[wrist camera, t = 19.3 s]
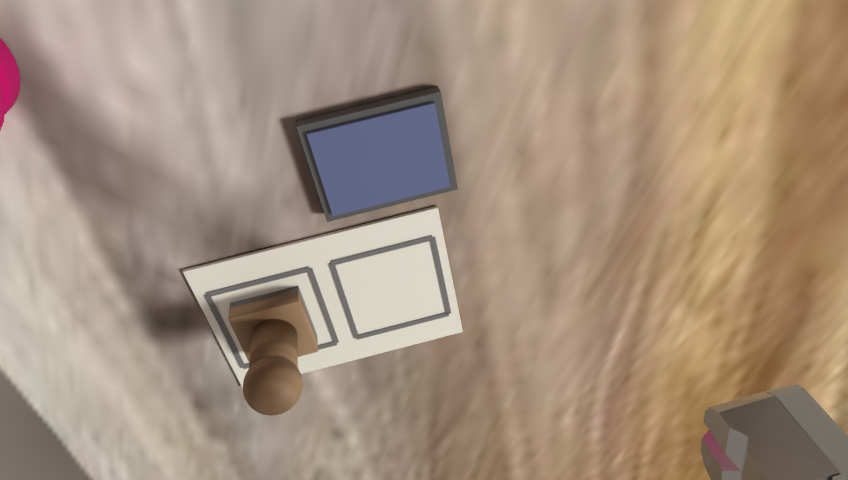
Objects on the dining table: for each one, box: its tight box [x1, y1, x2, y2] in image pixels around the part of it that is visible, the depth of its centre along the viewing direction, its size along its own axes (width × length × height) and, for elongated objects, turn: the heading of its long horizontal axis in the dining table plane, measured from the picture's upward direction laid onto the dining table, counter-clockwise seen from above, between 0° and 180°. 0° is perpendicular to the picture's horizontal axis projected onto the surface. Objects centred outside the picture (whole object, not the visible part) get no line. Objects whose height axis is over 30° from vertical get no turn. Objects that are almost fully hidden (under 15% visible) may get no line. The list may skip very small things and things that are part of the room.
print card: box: [183, 206, 463, 388], centre depth 47 cm, size 18×12×1 cm, turn 101°
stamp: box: [228, 286, 318, 415], centre depth 43 cm, size 5×5×8 cm
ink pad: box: [296, 86, 458, 222], centre depth 41 cm, size 9×7×1 cm
